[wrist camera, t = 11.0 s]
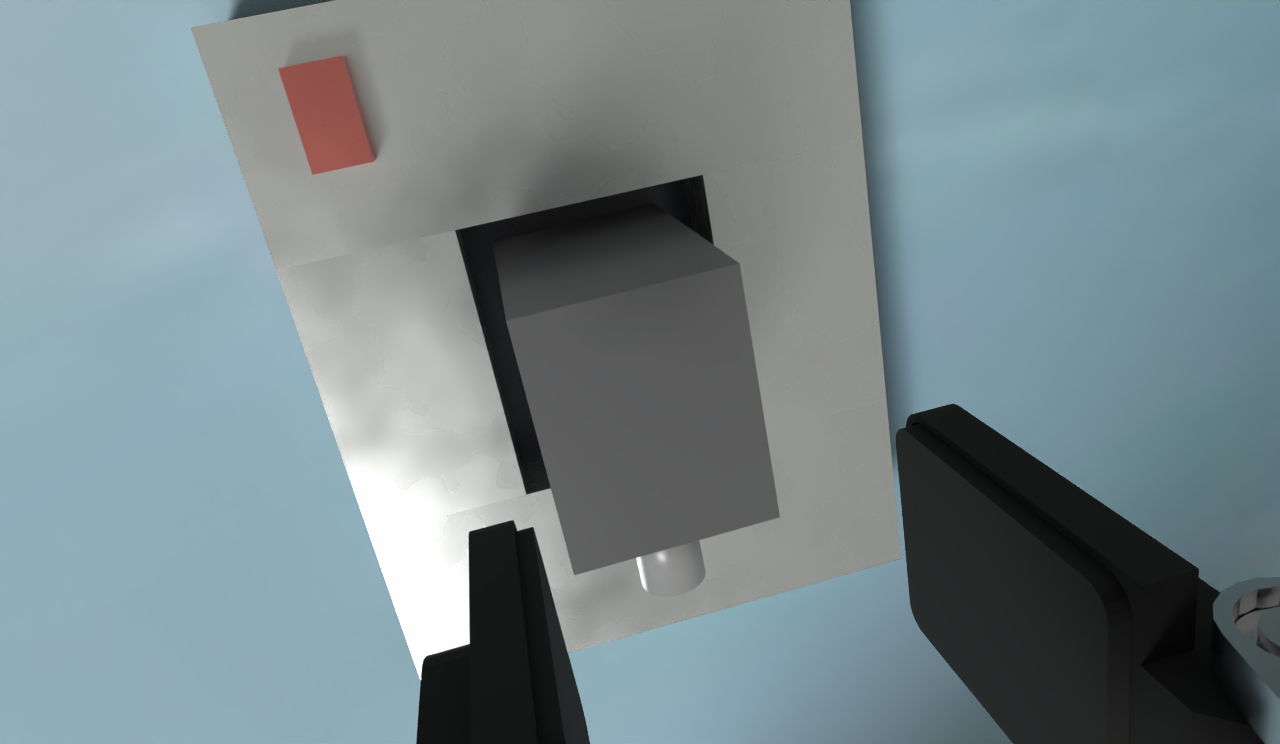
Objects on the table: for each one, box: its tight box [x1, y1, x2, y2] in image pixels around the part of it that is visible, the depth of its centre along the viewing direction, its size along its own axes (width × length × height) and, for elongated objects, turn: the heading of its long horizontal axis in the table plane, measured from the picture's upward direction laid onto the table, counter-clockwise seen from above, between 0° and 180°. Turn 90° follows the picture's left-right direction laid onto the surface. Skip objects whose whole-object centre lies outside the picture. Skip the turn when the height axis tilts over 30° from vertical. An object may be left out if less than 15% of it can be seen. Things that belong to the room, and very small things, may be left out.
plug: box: [493, 203, 780, 597], centre depth 19 cm, size 7×4×7 cm, turn 12°
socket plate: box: [191, 0, 901, 680], centre depth 21 cm, size 16×13×3 cm
